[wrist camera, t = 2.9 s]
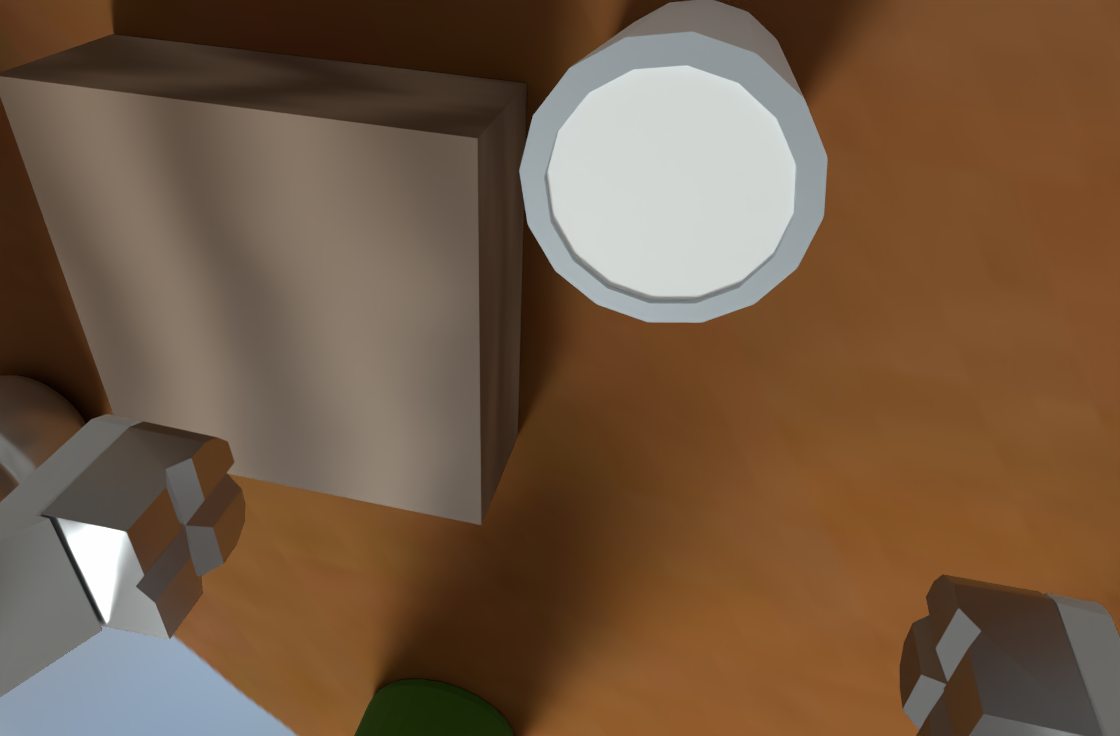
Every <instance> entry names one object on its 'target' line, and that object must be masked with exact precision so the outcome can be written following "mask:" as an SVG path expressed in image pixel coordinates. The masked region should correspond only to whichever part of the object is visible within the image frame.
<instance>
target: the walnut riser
mask: <svg viewBox="0 0 1120 736" xmlns="http://www.w3.org/2000/svg"><path fill="white" fill-rule="evenodd" d="M0 97H1V100H2V103H3V106H4V108H5V111H6V114H7V117H8V120H9V122H10V125H11V128H12V131H13V134H14V137H15V139H16V142H17V145H18V148H19V151H20V153H21V156H22V159H23V162H24V165H25V167H26V170H27V173H28V176H29V179H30V181H31V184H32V187H33V190H34V193H35V195H36V198H37V201H38V204H39V207H40V209H41V212H42V215H43V218H44V221H45V224H46V226H47V229H48V232H49V235H50V238H51V240H52V243H53V246H54V249H55V252H56V254H57V257H58V260H59V263H60V266H61V268H62V271H63V274H64V277H65V280H66V282H67V285H68V288H69V291H70V294H71V297H72V299H73V302H74V305H75V308H76V311H77V313H78V316H79V319H80V322H81V325H82V327H83V330H84V333H85V336H86V339H87V341H88V344H89V347H90V350H91V353H92V355H93V358H94V361H95V364H96V367H97V369H98V372H99V375H100V378H101V381H102V384H103V386H104V389H105V392H106V395H107V398H108V400H109V403H110V406H111V409H112V412H113V414H114V416H119V417H123V418H128V419H133V420H137V421H142V422H143V421H145V422H150V423H154V424H159V425H163V426H168V427H173V428H177V429H182V430H186V431H191V432H195V433H200V434H205V435H209V436H214V437H218V438H220V439H223V440H225V441H228V443H229V446H230V449H231V452H232V455H233V459H234V464H233V465H232V466H231V468H230V469H229V470H228V472H227V473H228V474H233V475H238V476H243V477H248V478H252V479H257V480H262V481H267V482H272V483H277V484H282V485H287V486H292V487H297V488H301V489H306V490H311V491H316V492H321V493H326V494H331V495H336V496H341V497H346V498H351V499H355V500H360V501H365V502H370V503H375V504H380V505H385V506H390V507H395V508H400V509H404V510H409V511H414V512H419V513H424V514H429V515H434V516H439V517H444V518H449V519H454V520H458V521H463V522H468V523H473V524H478V525H482V522H483V520H484V517H485V515H486V512H487V510H488V508H489V505H490V503H491V500H492V498H493V495H494V493H495V491H496V488H497V486H498V483H499V481H500V478H501V476H502V473H503V471H504V469H505V466H506V464H507V461H508V459H509V456H510V454H511V452H512V449H513V447H514V444H515V442H516V439H517V437H518V410H519V371H520V333H521V295H522V257H523V219H524V198H523V192H522V185H521V179H520V173H519V170H520V166H521V162H522V158H523V154H524V150H525V143H526V105H527V83H521V82H512V81H504V80H495V79H487V78H479V77H470V76H462V75H453V74H445V73H436V72H428V71H419V70H411V69H402V68H394V67H385V66H377V65H369V64H360V63H352V62H343V61H335V60H326V59H318V58H309V57H301V56H292V55H284V54H276V53H267V52H259V51H250V50H242V49H233V48H225V47H216V46H208V45H199V44H191V43H183V42H174V41H166V40H157V39H149V38H140V37H132V36H123V35H115V34H112V35H109V36H106V37H103V38H100V39H97V40H94V41H91V42H88V43H86V44H83V45H80V46H77V47H74V48H71V49H68V50H65V51H62V52H59V53H56V54H53V55H51V56H48V57H45V58H42V59H39V60H36V61H33V62H30V63H27V64H24V65H21V66H18V67H16V68H13V69H10V70H7V71H4V72H1V73H0Z"/></svg>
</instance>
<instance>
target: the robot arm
mask: <svg viewBox="0 0 1120 736" xmlns="http://www.w3.org/2000/svg"><path fill="white" fill-rule="evenodd" d="M233 464H234V459H233V455H232V452H231V449H230V446H229V443H228V441H225V440H223V439H220V438H218V437H214V436H209V435H205V434H200V433H195V432H191V431H186V430H182V429H177V428H173V427H168V426H163V425H159V424H154V423H150V422H145V421H143V422H142V421H137V420H133V419H128V418H123V417H119V416H114V415H110V414H105V415H102V416H99V417H96V418H93V419H91V420H90V421H89V422H88V423H87V424H86V425H85V426H84V427H82V428H81V429H80V430H79V431H78V432H77V433H76V434H75V435H74V436H73V437H71V438H70V439H69V440H68V441H67V442H66V443H65V444H64V445H63V446H62V447H60V448H59V449H58V450H57V451H56V452H55V453H54V454H53V455H52V456H51V457H49V458H48V459H47V460H46V461H45V462H44V463H43V464H42V465H41V466H40V467H38V468H37V469H36V470H35V471H34V472H33V473H32V474H31V475H30V476H29V477H28V478H26V479H25V480H24V481H23V482H22V483H21V484H20V485H19V486H18V487H17V488H15V489H14V490H13V491H12V492H11V493H10V494H9V495H8V496H7V497H6V498H4V499H3V500H2V501H1V502H0V697H1V696H3V695H4V694H6V693H7V692H9V691H10V690H12V689H13V688H15V687H16V686H18V685H19V684H21V683H23V682H24V681H26V680H27V679H28V678H30V677H32V676H33V675H35V674H36V673H38V672H39V671H41V670H42V669H44V668H45V667H47V666H48V665H50V664H51V663H53V662H55V661H56V660H58V659H59V658H61V657H62V656H64V655H65V654H67V653H68V652H70V651H71V650H73V649H74V648H76V647H77V646H79V645H81V644H82V643H84V642H85V641H87V640H88V639H90V638H91V637H93V636H94V635H96V634H97V633H99V632H100V631H102V627H101V626H105V627H110V628H115V629H120V630H125V631H130V632H135V633H139V634H144V635H149V636H154V637H160V638H165V639H170V638H171V637H172V636H173V634H174V633H175V631H176V630H177V629H178V627H179V626H180V624H181V623H182V622H183V620H184V619H185V617H186V616H187V615H188V613H189V612H190V610H191V609H192V608H193V606H194V605H195V603H196V602H197V601H198V599H199V598H200V596H201V595H202V594H203V590H202V577H201V576H202V575H204V574H206V573H208V572H209V571H211V570H213V569H215V568H217V567H219V566H220V565H222V564H224V563H225V561H226V560H227V558H228V557H229V555H230V554H231V552H232V551H233V549H234V548H235V546H236V545H237V542H238V539H239V537H240V534H241V531H242V528H243V525H244V522H245V500H244V496H243V492H242V489H241V488H240V487H239V486H238V485H237V484H236V483H235V481H234V480H233V479H232V478H231V477H230V476H229V475H228V474H227V472H228V470H229V469H230V468H231V466H232V465H233ZM926 599H927V605H928V610H929V615H928V616H926V617H924V618H922V619H920V620H918V621H916V622H914V623H912V626H911V628H910V630H909V632H908V635H907V637H906V639H905V641H904V645H903V651H902V656H901V662H900V693H901V700H902V708H903V710H904V712H905V713H906V714H907V715H908V717H909V718H910V719H911V720H912V722H913V723H914V724H915V726H916V727H917V728H918V729H919V732H918V733H917V735H916V736H1120V637H1119V634H1118V632H1117V630H1116V627H1115V625H1114V623H1113V620H1112V618H1111V616H1110V613H1109V612H1108V611H1107V610H1106V609H1105V608H1104V607H1103V606H1102V605H1101V604H1100V603H1097V602H1091V601H1086V600H1080V599H1075V598H1069V597H1064V596H1059V595H1053V594H1048V593H1045V594H1042V593H1040V592H1038V591H1032V590H1027V589H1021V588H1016V587H1010V586H1005V585H999V584H993V583H988V582H982V581H977V580H971V579H966V578H960V577H954V576H949V575H941V576H940V577H939V578H938V579H936V580H935V581H934V583H933V584H932V586H931V588H930V590H929V592H928V594H927V596H926Z"/></svg>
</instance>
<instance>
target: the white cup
mask: <svg viewBox="0 0 1120 736" xmlns="http://www.w3.org/2000/svg"><path fill="white" fill-rule="evenodd" d="M519 173H520V179H521V185H522V192H523V198H524V204H525V210H526V217H527V223H528V226H529V228H530V229H531V231H532V233H533V234H534V236H535V238H536V240H537V241H538V243H539V245H540V246H541V248H542V250H543V251H544V253H545V255H546V256H547V258H548V260H549V261H550V263H551V265H552V266H553V268H554V270H555V271H556V272H557V273H558V274H560V275H561V276H562V277H563V278H565V279H566V280H567V281H568V282H570V283H571V284H572V285H573V286H575V287H576V288H577V289H578V290H580V291H581V292H582V293H583V294H585V295H586V296H587V297H588V298H589V299H591V300H592V301H593V302H594V303H596V304H597V305H600V306H603V307H606V308H609V309H611V310H614V311H617V312H620V313H623V314H626V315H628V316H631V317H634V318H637V319H640V320H643V321H645V322H705V321H707V320H710V319H713V318H716V317H719V316H722V315H725V314H727V313H730V312H733V311H736V310H739V309H742V308H745V307H747V306H750V305H753V304H755V303H756V302H757V301H758V300H760V299H761V298H762V297H763V296H764V295H766V294H767V293H768V292H769V291H770V290H772V289H773V288H774V287H775V286H776V285H777V284H779V283H780V282H781V281H782V280H783V279H785V278H786V277H787V276H788V275H789V274H791V273H792V272H793V271H794V270H795V269H796V268H797V267H798V265H799V263H800V262H801V260H802V258H803V256H804V254H805V252H806V250H807V248H808V246H809V244H810V242H811V240H812V239H813V237H814V235H815V233H816V231H817V229H818V227H819V225H820V223H821V221H822V219H823V217H824V206H825V190H826V173H827V155H826V152H825V149H824V147H823V144H822V142H821V139H820V137H819V134H818V132H817V129H816V127H815V124H814V122H813V119H812V117H811V114H810V112H809V109H808V107H807V104H806V102H805V99H804V97H803V95H802V92H801V90H800V88H799V86H798V84H797V82H796V79H795V77H794V75H793V73H792V71H791V69H790V66H789V64H788V62H787V60H786V58H785V56H784V53H783V51H782V49H781V47H780V45H779V43H778V40H777V39H776V38H775V37H774V36H773V35H772V34H771V33H770V32H769V31H768V30H767V29H766V28H765V27H764V26H763V25H761V24H760V23H759V22H758V21H757V20H756V19H755V18H754V17H753V16H752V15H751V14H750V13H749V12H747V11H745V10H742V9H739V8H736V7H733V6H730V5H727V4H724V3H721V2H718V1H715V0H690V1H680V2H669V3H668V4H666V5H664V6H662V7H660V8H659V9H657V10H655V11H653V12H651V13H649V14H648V15H646V16H644V17H642V18H640V19H639V20H637V21H635V22H633V23H632V24H631V25H629V26H628V27H626V28H625V29H624V30H622V31H621V32H619V33H618V34H617V35H615V36H614V37H612V38H611V39H610V40H608V41H607V42H605V43H604V44H602V45H601V46H600V47H598V48H597V49H595V50H594V51H593V52H591V53H590V54H588V55H587V56H586V57H584V58H583V59H581V60H580V61H579V62H577V63H576V64H574V65H573V66H572V67H570V68H569V69H568V71H567V72H566V73H565V75H564V76H563V77H562V78H561V80H560V81H559V82H558V84H557V85H556V86H555V88H554V89H553V90H552V91H551V93H550V94H549V95H548V97H547V98H546V99H545V101H544V102H543V103H542V104H541V106H540V107H539V108H538V110H537V111H536V112H535V114H534V115H533V117H532V121H531V125H530V129H529V133H528V137H527V141H526V145H525V150H524V154H523V158H522V162H521V166H520V170H519Z"/></svg>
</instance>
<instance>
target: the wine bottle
mask: <svg viewBox="0 0 1120 736" xmlns="http://www.w3.org/2000/svg"><path fill="white" fill-rule="evenodd" d="M354 736H514V734H513V730H512V729H511V727H510V725H509V724H508V722H507V721H506V719H505V718H504V717H503V716H502V715H501V714H500V713H499V712H498V711H497V710H496V709H495V708H494V707H493V706H491V705H490V704H488V703H487V702H485V701H484V700H482V699H481V698H479V697H478V696H476V695H474V694H471V693H469V692H467V691H465V690H463V689H461V688H458V687H455V686H452V685H449V684H445V683H442V682H437V681H431V680H424V679H404V680H400V681H396V682H392V683H389V684H388V685H386V686H385V687H383V688H381V689H380V690H379V691H378V692H377V693H376V694H375V695H374V697H373V698H372V700H371V701H370V703H369V705H368V707H367V709H366V711H365V713H364V716H363V718H362V720H361V722H360V724H359V727H358V729H357V731H356V733H355V735H354Z"/></svg>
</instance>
